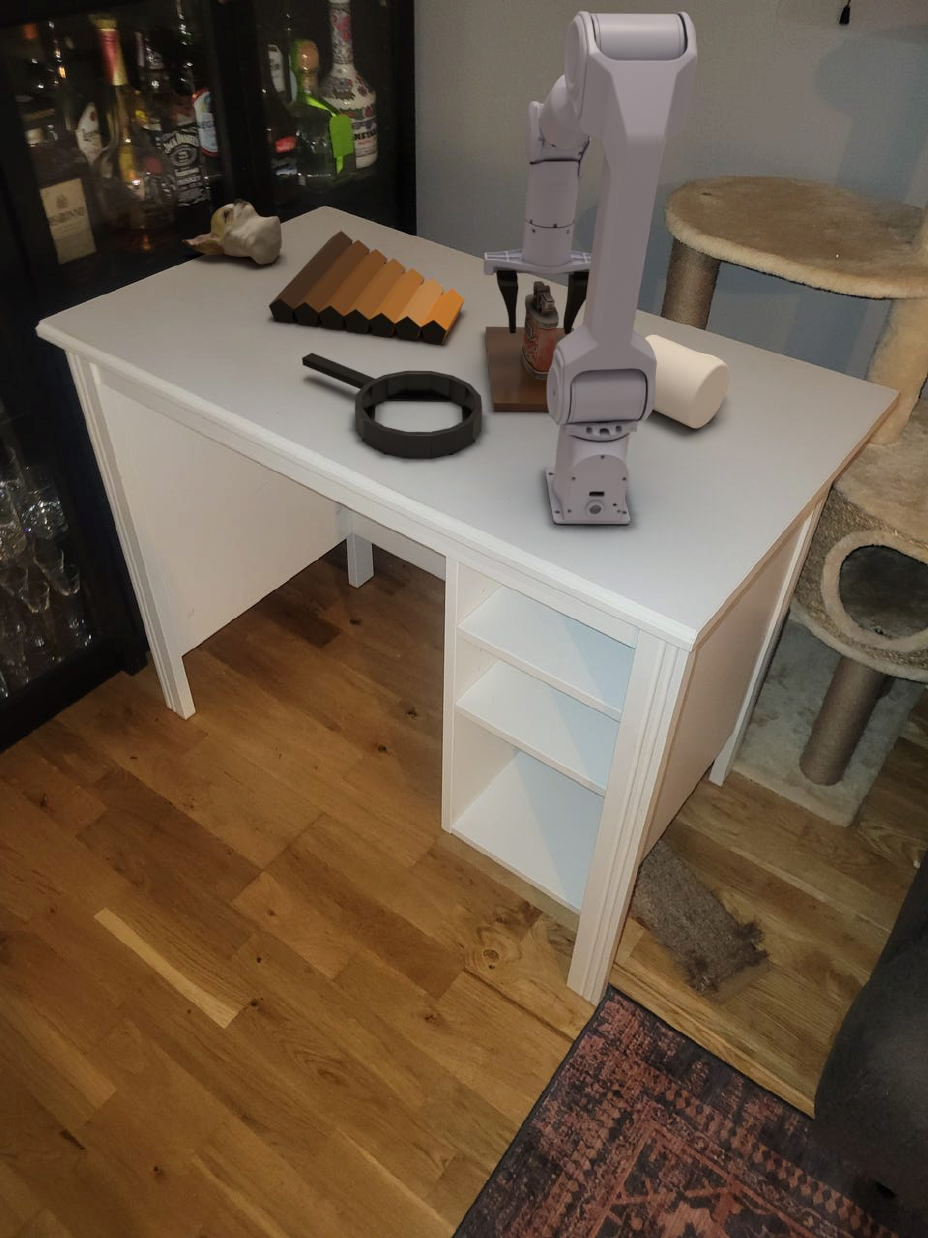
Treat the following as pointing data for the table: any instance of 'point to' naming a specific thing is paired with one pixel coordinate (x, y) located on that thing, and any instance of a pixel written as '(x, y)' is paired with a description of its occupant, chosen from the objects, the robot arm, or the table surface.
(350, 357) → the table surface
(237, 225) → the ceramic sculpture
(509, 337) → the board
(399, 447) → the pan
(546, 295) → the lighter
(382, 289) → the pan flute
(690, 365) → the mug
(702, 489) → the table surface
